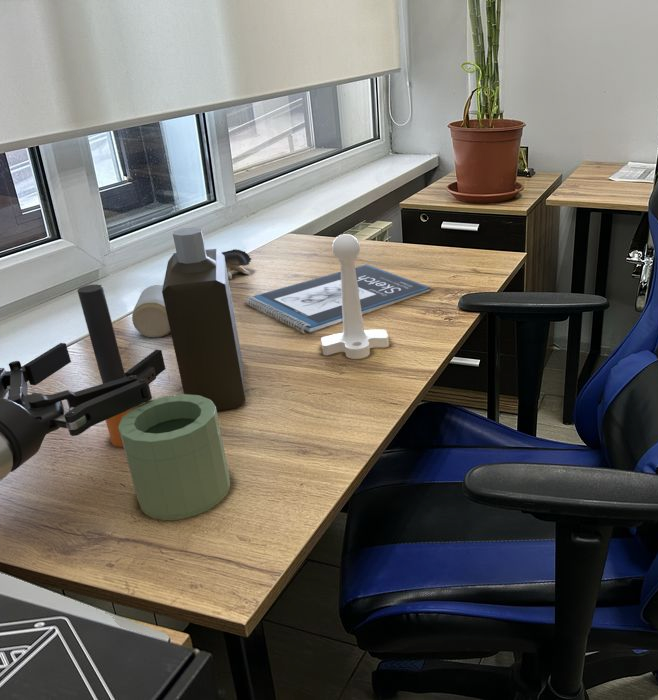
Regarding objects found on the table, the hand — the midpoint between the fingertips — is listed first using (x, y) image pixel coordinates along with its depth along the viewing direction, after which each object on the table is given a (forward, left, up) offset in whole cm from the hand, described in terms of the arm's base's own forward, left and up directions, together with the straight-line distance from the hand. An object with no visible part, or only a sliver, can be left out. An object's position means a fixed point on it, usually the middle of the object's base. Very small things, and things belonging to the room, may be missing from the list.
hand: (113, 355), depth 91 cm
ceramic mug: (-15, +34, -13) cm, 39 cm away
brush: (0, -1, -12) cm, 12 cm away
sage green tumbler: (+14, -11, -12) cm, 22 cm away
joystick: (+22, +30, -13) cm, 39 cm away
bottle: (+5, +14, -13) cm, 20 cm away
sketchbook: (+11, +53, -13) cm, 56 cm away
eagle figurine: (-17, +62, -13) cm, 66 cm away
